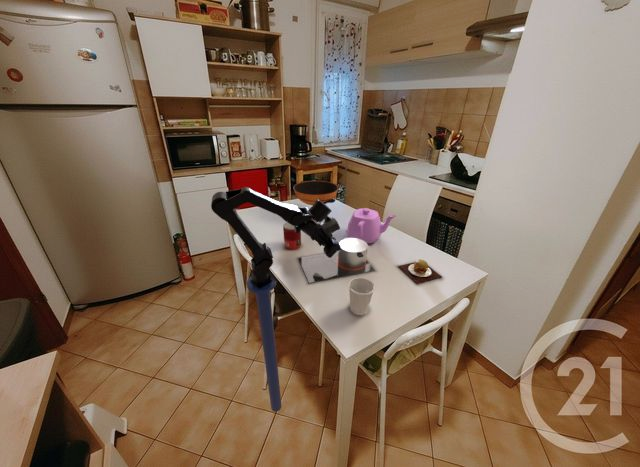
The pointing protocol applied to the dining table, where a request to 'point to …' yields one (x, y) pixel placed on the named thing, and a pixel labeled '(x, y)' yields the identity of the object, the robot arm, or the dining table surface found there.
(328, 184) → the orange pedestal bowl
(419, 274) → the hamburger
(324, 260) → the hob
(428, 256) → the dining table surface
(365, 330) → the dining table surface
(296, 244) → the canned food
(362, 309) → the dixie cup
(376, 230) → the teapot
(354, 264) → the pot
